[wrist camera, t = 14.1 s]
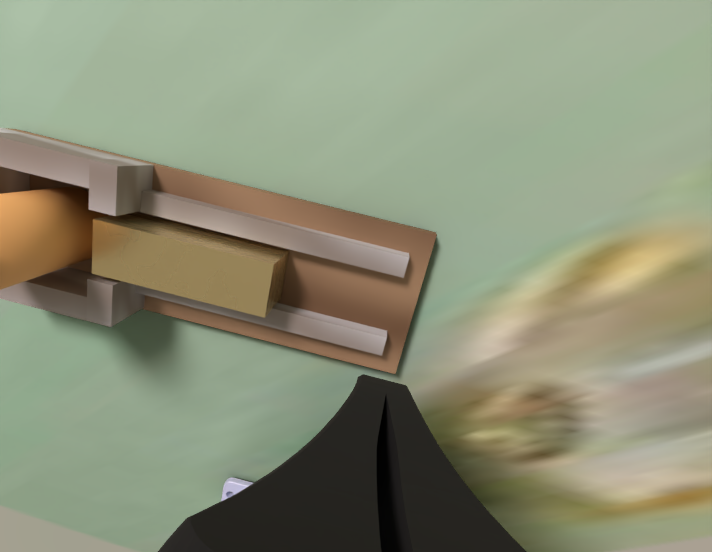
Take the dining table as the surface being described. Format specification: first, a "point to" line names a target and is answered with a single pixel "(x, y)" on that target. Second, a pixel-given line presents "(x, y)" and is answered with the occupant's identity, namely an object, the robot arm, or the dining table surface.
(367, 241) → the mount
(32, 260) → the cylinder
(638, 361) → the dining table surface
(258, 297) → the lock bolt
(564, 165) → the dining table surface
